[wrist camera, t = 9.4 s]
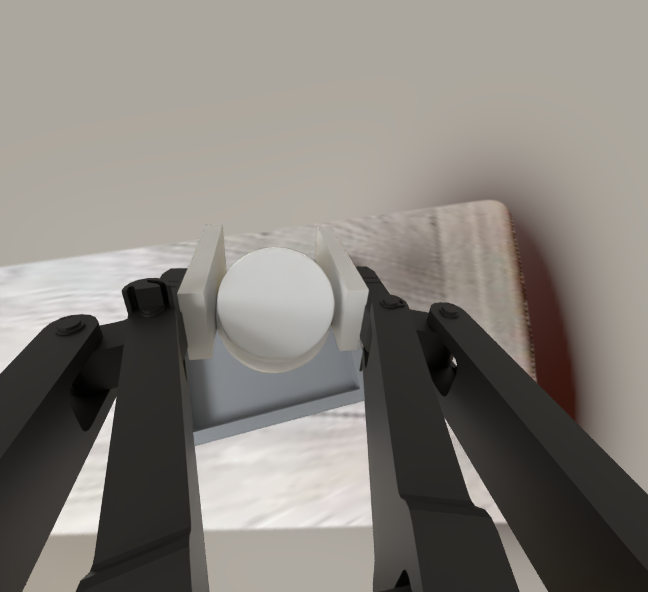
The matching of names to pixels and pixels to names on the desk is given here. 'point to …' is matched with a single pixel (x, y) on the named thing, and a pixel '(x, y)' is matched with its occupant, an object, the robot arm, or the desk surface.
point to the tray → (268, 390)
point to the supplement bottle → (274, 309)
